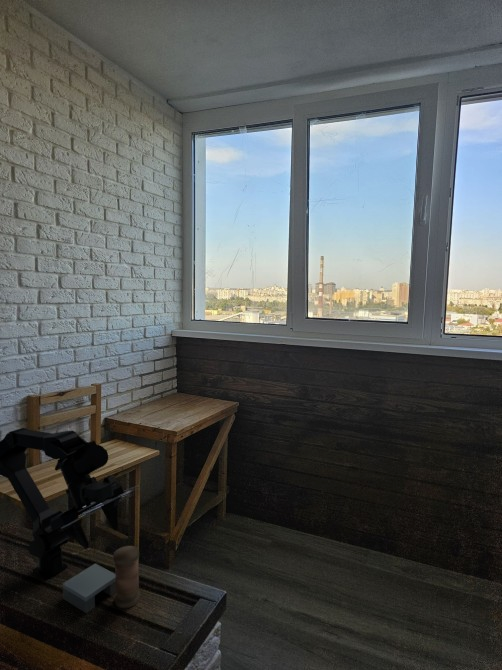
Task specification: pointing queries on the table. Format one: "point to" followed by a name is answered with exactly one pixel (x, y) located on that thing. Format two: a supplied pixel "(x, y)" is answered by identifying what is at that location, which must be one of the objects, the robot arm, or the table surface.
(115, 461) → the table surface
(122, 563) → the brown flanged cylinder
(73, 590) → the grey bridge block
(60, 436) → the robot arm
